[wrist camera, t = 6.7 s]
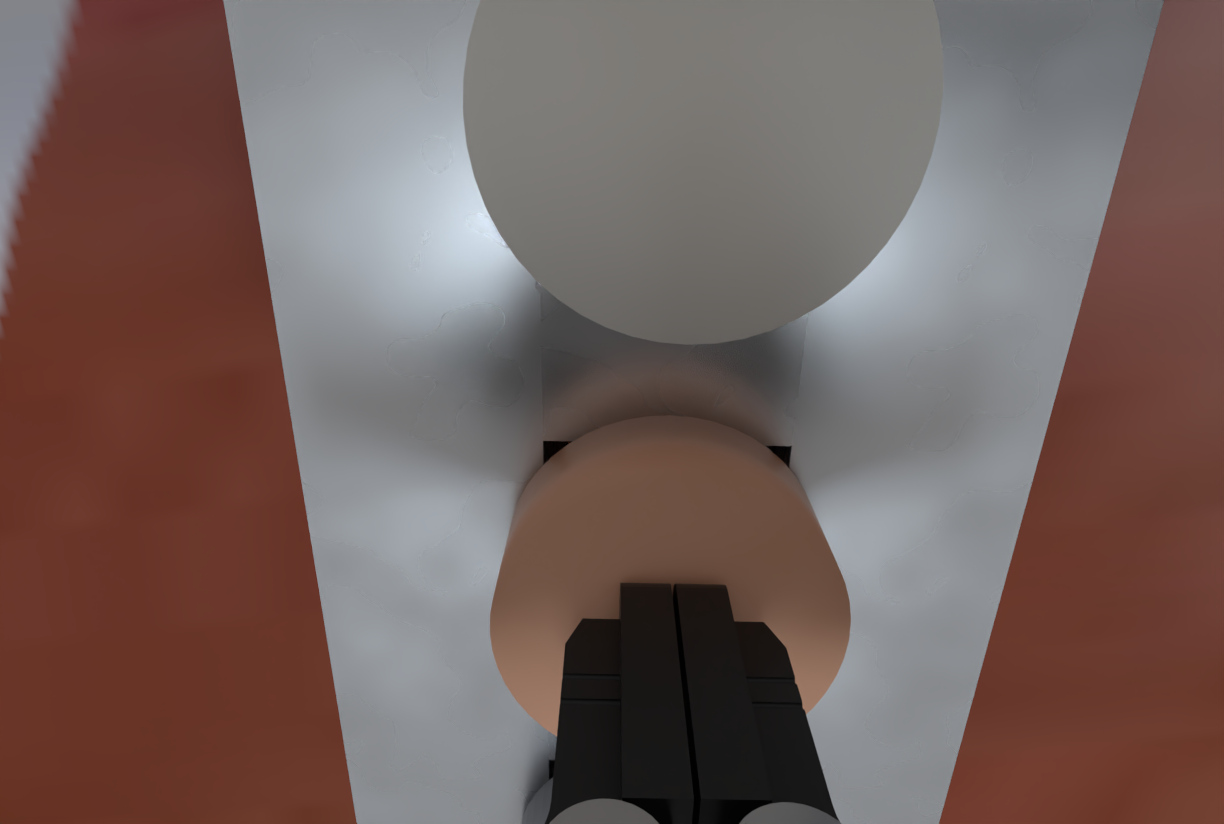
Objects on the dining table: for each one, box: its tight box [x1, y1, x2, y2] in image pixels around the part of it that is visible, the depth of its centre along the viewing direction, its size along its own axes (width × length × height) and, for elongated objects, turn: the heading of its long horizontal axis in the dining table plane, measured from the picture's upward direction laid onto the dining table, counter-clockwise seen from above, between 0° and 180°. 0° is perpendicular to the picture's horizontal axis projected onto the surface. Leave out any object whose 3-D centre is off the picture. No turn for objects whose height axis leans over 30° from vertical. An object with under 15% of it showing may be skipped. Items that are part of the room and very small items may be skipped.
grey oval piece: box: [463, 0, 943, 345], centre depth 11 cm, size 5×5×7 cm
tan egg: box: [490, 415, 851, 736], centre depth 14 cm, size 5×5×7 cm
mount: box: [223, 0, 1164, 824], centre depth 15 cm, size 12×21×5 cm, turn 179°
